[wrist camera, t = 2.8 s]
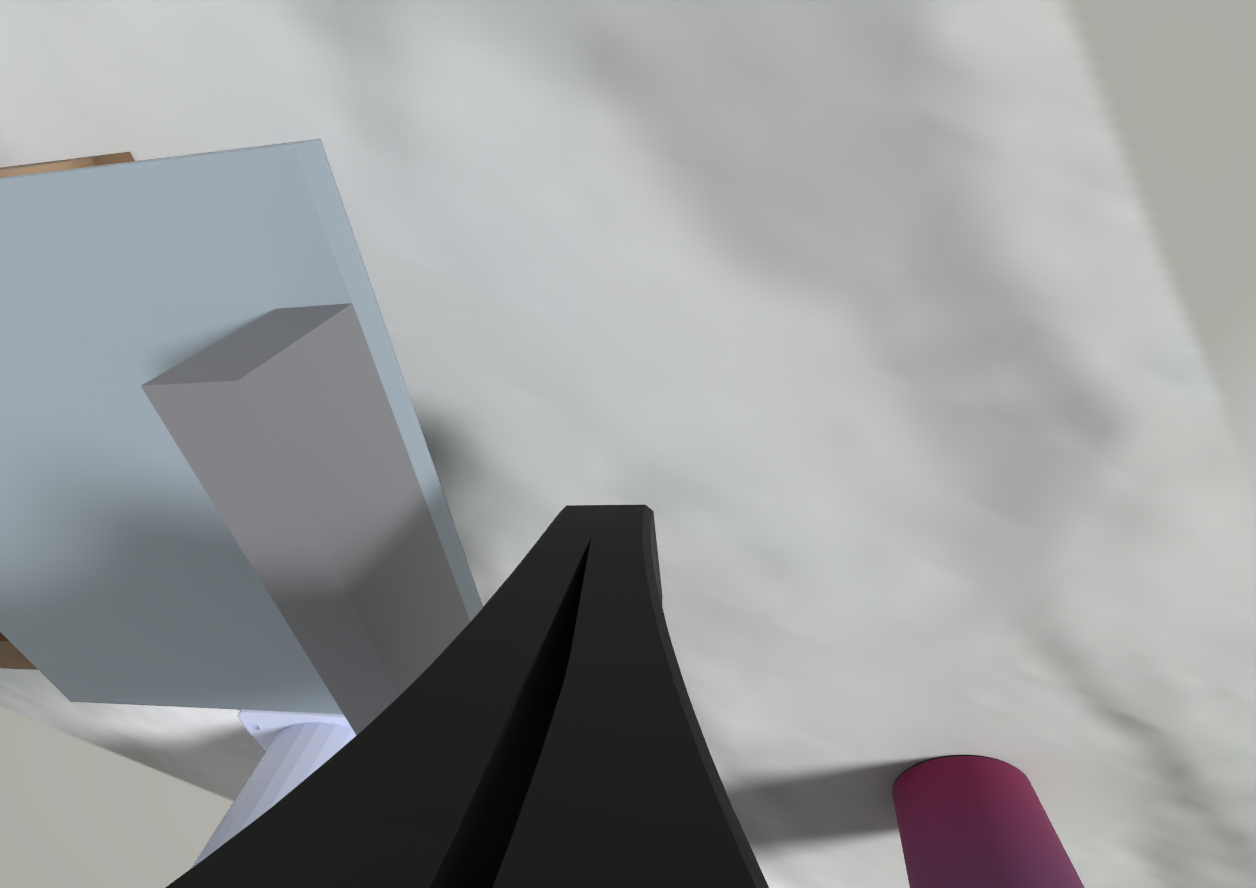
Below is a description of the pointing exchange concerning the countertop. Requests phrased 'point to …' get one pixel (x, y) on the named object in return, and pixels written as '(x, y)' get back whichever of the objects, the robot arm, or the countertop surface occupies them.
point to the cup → (977, 828)
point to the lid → (212, 444)
